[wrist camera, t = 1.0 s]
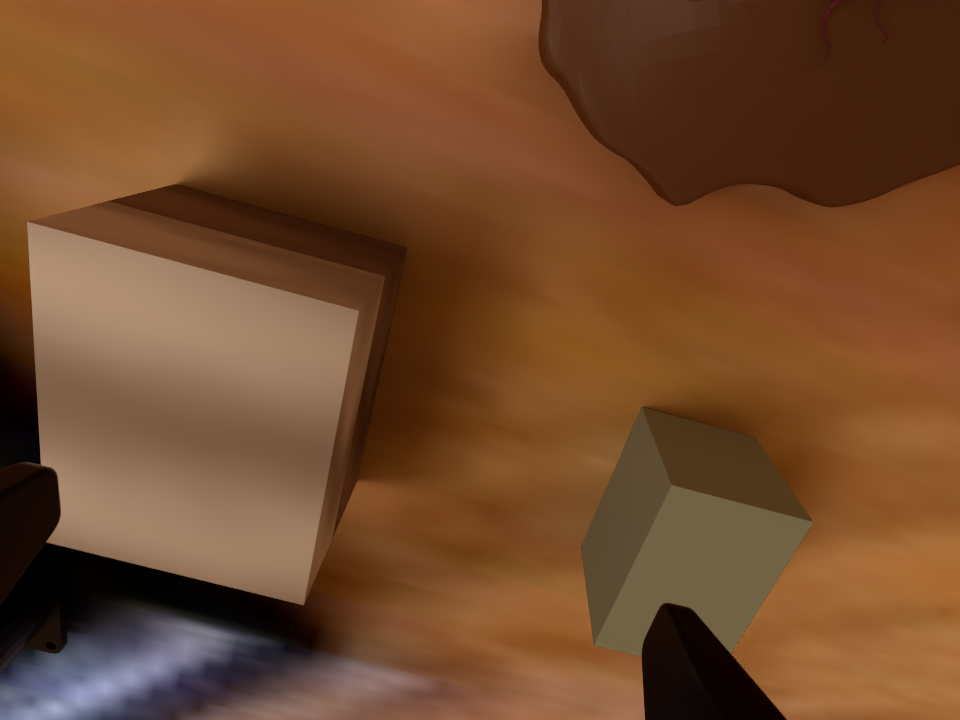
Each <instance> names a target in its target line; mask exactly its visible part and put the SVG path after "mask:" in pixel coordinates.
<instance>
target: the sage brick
mask: <svg viewBox="0 0 960 720" xmlns="http://www.w3.org/2000/svg"><path fill="white" fill-rule="evenodd" d="M812 524H813V521H812V519H811V518H810V516H809V515H808V513H807V512H806V510H805V509H804V507H803V506H802V505H801V503H800V502H799V500H798V499H797V497H796V496H795V494H794V493H793V491H792V490H791V488H790V487H789V486H788V484H787V483H786V481H785V480H784V478H783V477H782V475H781V474H780V472H779V471H778V470H777V468H776V467H775V465H774V464H773V462H772V461H771V459H770V458H769V456H768V455H767V453H766V452H765V451H764V449H763V448H762V446H761V445H760V443H759V442H758V440H757V439H756V437H752V436H749V435H745V434H741V433H737V432H734V431H730V430H726V429H722V428H719V427H715V426H711V425H707V424H704V423H700V422H696V421H692V420H689V419H685V418H681V417H677V416H674V415H670V414H666V413H662V412H659V411H655V410H651V409H648V408H644V407H641V409H640V412H639V414H638V416H637V419H636V421H635V423H634V426H633V428H632V430H631V433H630V435H629V437H628V440H627V442H626V444H625V446H624V449H623V451H622V453H621V456H620V458H619V460H618V463H617V465H616V467H615V470H614V472H613V474H612V477H611V479H610V481H609V484H608V486H607V488H606V491H605V493H604V495H603V498H602V500H601V502H600V504H599V507H598V509H597V511H596V514H595V516H594V518H593V521H592V523H591V525H590V528H589V530H588V532H587V535H586V537H585V539H584V542H583V544H582V546H581V552H582V559H583V567H584V574H585V582H586V590H587V597H588V605H589V612H590V620H591V628H592V635H593V643H594V646H598V647H602V648H606V649H611V650H615V651H619V652H623V653H627V654H631V655H635V656H639V657H642V646H643V642H644V639H645V637H646V634H647V632H648V630H649V628H650V626H651V624H652V622H653V620H654V618H655V615H656V613H657V611H658V609H659V608H660V606H661V605H662V604H664V603H672V604H677V605H682V606H686V607H689V608H691V609H692V610H694V611H695V612H696V614H697V615H698V616H699V617H700V618H701V619H702V621H703V622H704V623H705V624H706V625H707V626H708V628H709V629H710V630H711V631H712V632H713V634H714V635H715V636H716V637H717V638H718V639H719V641H720V642H721V643H722V644H723V645H724V646H725V648H726V649H727V650H728V651H729V652H730V653H732V651H733V649H734V648H735V646H736V645H737V643H738V641H739V640H740V638H741V637H742V635H743V633H744V632H745V630H746V629H747V627H748V626H749V624H750V622H751V621H752V619H753V618H754V616H755V614H756V613H757V611H758V610H759V608H760V606H761V605H762V603H763V602H764V600H765V598H766V597H767V595H768V594H769V592H770V591H771V589H772V587H773V586H774V584H775V583H776V581H777V579H778V578H779V576H780V575H781V573H782V571H783V570H784V568H785V567H786V565H787V563H788V562H789V560H790V559H791V557H792V556H793V554H794V552H795V551H796V549H797V548H798V546H799V544H800V543H801V541H802V540H803V538H804V536H805V535H806V533H807V532H808V530H809V528H810V527H811V525H812Z"/></svg>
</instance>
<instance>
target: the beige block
mask: <svg viewBox="0 0 960 720" xmlns="http://www.w3.org/2000/svg"><path fill="white" fill-rule="evenodd" d="M27 227H28V245H29V262H30V280H31V297H32V314H33V332H34V349H35V367H36V384H37V402H38V419H39V436H40V454H41V465H43V466H48V467H51V468H53V469H54V470H55V471H56V473H57V476H58V484H59V495H60V505H61V516H60V520H59V523H58V525H57V527H56V529H55V530H54V532H53V533H52V535H51V536H50V537H49V539H48V540H47V541H46V542H47V543H51V544H55V545H59V546H63V547H67V548H72V549H76V550H80V551H84V552H88V553H92V554H96V555H100V556H104V557H108V558H113V559H117V560H121V561H125V562H129V563H133V564H137V565H141V566H145V567H149V568H154V569H158V570H162V571H166V572H170V573H174V574H178V575H182V576H186V577H190V578H194V579H199V580H203V581H207V582H211V583H215V584H219V585H223V586H227V587H231V588H235V589H240V590H244V591H248V592H252V593H256V594H260V595H264V596H268V597H272V598H276V599H280V600H285V601H289V602H293V603H297V604H301V605H304V603H305V601H306V599H307V596H308V594H309V592H310V589H311V587H312V585H313V582H314V580H315V578H316V575H317V573H318V571H319V568H320V566H321V564H322V561H323V559H324V557H325V554H326V552H327V550H328V547H329V545H330V543H331V540H332V538H333V536H334V533H335V531H336V529H337V526H338V524H339V522H340V519H341V517H342V515H343V512H344V510H345V508H346V505H347V503H348V501H349V498H350V496H351V494H352V491H353V489H354V487H355V484H356V482H357V478H358V474H359V469H360V464H361V460H362V455H363V450H364V446H365V441H366V436H367V432H368V427H369V422H370V418H371V413H372V408H373V403H374V399H375V394H376V389H377V385H378V380H379V375H380V371H381V366H382V361H383V357H384V352H385V347H386V343H387V338H388V333H389V329H390V324H391V319H392V314H393V310H394V305H395V300H396V296H397V291H398V286H399V282H400V277H401V272H402V268H403V263H404V258H405V254H406V249H407V248H405V247H401V246H397V245H394V244H390V243H386V242H383V241H379V240H376V239H372V238H368V237H365V236H361V235H357V234H354V233H350V232H346V231H343V230H339V229H335V228H332V227H328V226H325V225H321V224H317V223H314V222H310V221H306V220H303V219H299V218H295V217H292V216H288V215H285V214H281V213H277V212H274V211H270V210H266V209H263V208H259V207H255V206H252V205H248V204H244V203H241V202H237V201H234V200H230V199H226V198H223V197H219V196H215V195H212V194H208V193H204V192H201V191H197V190H193V189H190V188H186V187H183V186H179V185H175V184H174V185H170V186H166V187H162V188H158V189H154V190H150V191H146V192H142V193H138V194H134V195H130V196H127V197H123V198H119V199H115V200H111V201H107V202H103V203H99V204H95V205H91V206H87V207H83V208H79V209H75V210H71V211H67V212H63V213H59V214H56V215H52V216H48V217H44V218H40V219H36V220H32V221H28V222H27Z"/></svg>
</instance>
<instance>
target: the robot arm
mask: <svg viewBox="0 0 960 720" xmlns="http://www.w3.org/2000/svg"><path fill="white" fill-rule="evenodd" d="M60 516H61V505H60V495H59V484H58V476H57V473H56V471H55V470H54V469H53V468H51V467H48V466H43V465H39V464H34V463H29V462H21V463H17V464H14V465H11V466H8V467H5V468H2V469H0V674H1V673H2V672H3V671H4V670H5V669H6V667H7V666H8V665H9V664H10V663H11V662H12V661H13V660H14V659H15V657H16V656H17V655H18V654H19V653H20V652H21V651H22V650H23V649H24V647H28V648H32V649H36V650H40V651H45V652H49V653H59V652H60V651H61V650H62V649H63V648H64V647H65V645H66V644H67V619H66V595H65V571H64V554H63V551H62V550H61V549H60V548H59V547H57V546H56V545H53V544H50V543H46V541H47V540H48V539H49V537H50V536H51V535H52V533H53V532H54V530H55V529H56V527H57V525H58V523H59V520H60ZM642 672H643V690H644V707H645V720H787V719H786V718H785V717H784V716H783V715H782V713H781V712H780V711H779V710H778V709H777V707H776V706H775V705H774V704H773V703H772V702H771V700H770V699H769V698H768V697H767V696H766V695H765V693H764V692H763V691H762V690H761V689H760V688H759V686H758V685H757V684H756V683H755V682H754V680H753V679H752V678H751V677H750V676H749V675H748V673H747V672H746V671H745V670H744V669H743V668H742V666H741V665H740V664H739V663H738V662H737V661H736V659H735V658H734V657H733V656H732V655H731V653H730V652H729V651H728V650H727V649H726V648H725V646H724V645H723V644H722V643H721V642H720V641H719V639H718V638H717V637H716V636H715V635H714V634H713V632H712V631H711V630H710V629H709V628H708V626H707V625H706V624H705V623H704V622H703V621H702V619H701V618H700V617H699V616H698V615H697V614H696V612H695V611H694V610H692V609H691V608H689V607H686V606H682V605H677V604H672V603H664V604H662V605H661V606H660V608H659V609H658V611H657V613H656V615H655V618H654V620H653V622H652V624H651V626H650V628H649V630H648V632H647V634H646V637H645V639H644V642H643V646H642Z"/></svg>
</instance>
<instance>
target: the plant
mask: <svg viewBox="0 0 960 720" xmlns="http://www.w3.org/2000/svg"><path fill="white" fill-rule="evenodd" d="M539 53H540V57H541V61H542V63H543V65H544V67H545V69H546V70H547V72H548V73H549V74H550V75H551V76H552V77H553V78H554V79H555V80H556V81H557V82H558V83H559V84H560V85H561V87H562V88H563V89H564V91H565V92H566V94H567V96H568V98H569V100H570V102H571V103H572V105H573V107H574V109H575V111H576V113H577V114H578V116H579V118H580V119H581V121H582V122H583V124H584V125H585V126H586V128H587V129H588V131H589V132H590V133H591V135H592V136H593V137H594V138H595V139H596V140H597V141H598V142H599V143H601V144H602V145H603V146H605V147H606V148H607V149H609V150H611V151H612V152H614V153H615V154H617V155H619V156H621V157H623V158H624V159H626V160H627V161H628V162H629V163H631V164H632V165H633V166H634V167H635V168H636V169H637V170H638V171H639V173H640V174H641V175H642V176H643V177H644V178H645V179H646V180H647V182H648V183H649V184H650V185H651V187H652V188H653V189H654V191H655V192H656V193H657V195H659V196H660V197H661V198H663V199H664V200H666V201H667V202H669V203H670V204H672V205H674V206H681V205H686V204H689V203H691V202H693V201H695V200H697V199H698V198H700V197H702V196H704V195H706V194H708V193H710V192H712V191H715V190H717V189H720V188H723V187H726V186H731V185H738V184H758V185H767V186H773V187H777V188H781V189H783V190H785V191H787V192H789V193H791V194H793V195H794V196H796V197H798V198H801V199H803V200H806V201H809V202H812V203H815V204H818V205H821V206H825V207H840V206H846V205H851V204H855V203H860V202H863V201H866V200H869V199H872V198H875V197H878V196H880V195H882V194H885V193H887V192H889V191H891V190H894V189H896V188H898V187H901V186H903V185H905V184H907V183H910V182H913V181H915V180H918V179H921V178H924V177H927V176H930V175H932V174H935V173H938V172H941V171H944V170H946V169H949V168H952V167H954V166H957V165H960V0H542V13H541V21H540V30H539Z"/></svg>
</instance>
